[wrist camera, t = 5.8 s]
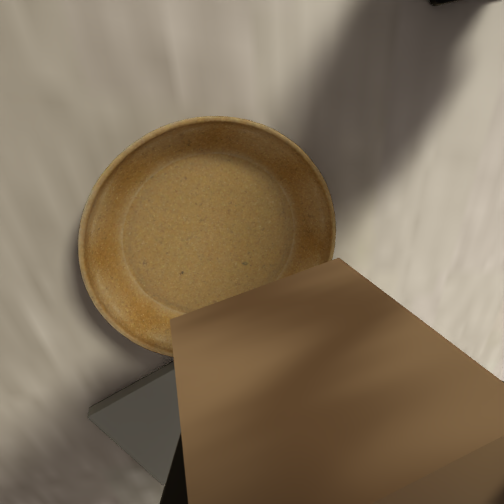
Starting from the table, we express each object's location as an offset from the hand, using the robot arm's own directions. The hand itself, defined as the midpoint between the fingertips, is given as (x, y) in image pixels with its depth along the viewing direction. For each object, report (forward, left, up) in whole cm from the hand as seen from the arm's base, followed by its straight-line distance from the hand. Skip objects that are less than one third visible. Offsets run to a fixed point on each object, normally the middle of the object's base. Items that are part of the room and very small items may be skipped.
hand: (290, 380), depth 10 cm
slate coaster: (+6, +13, -12) cm, 19 cm away
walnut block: (0, 0, -1) cm, 1 cm away
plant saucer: (0, 0, -13) cm, 13 cm away
